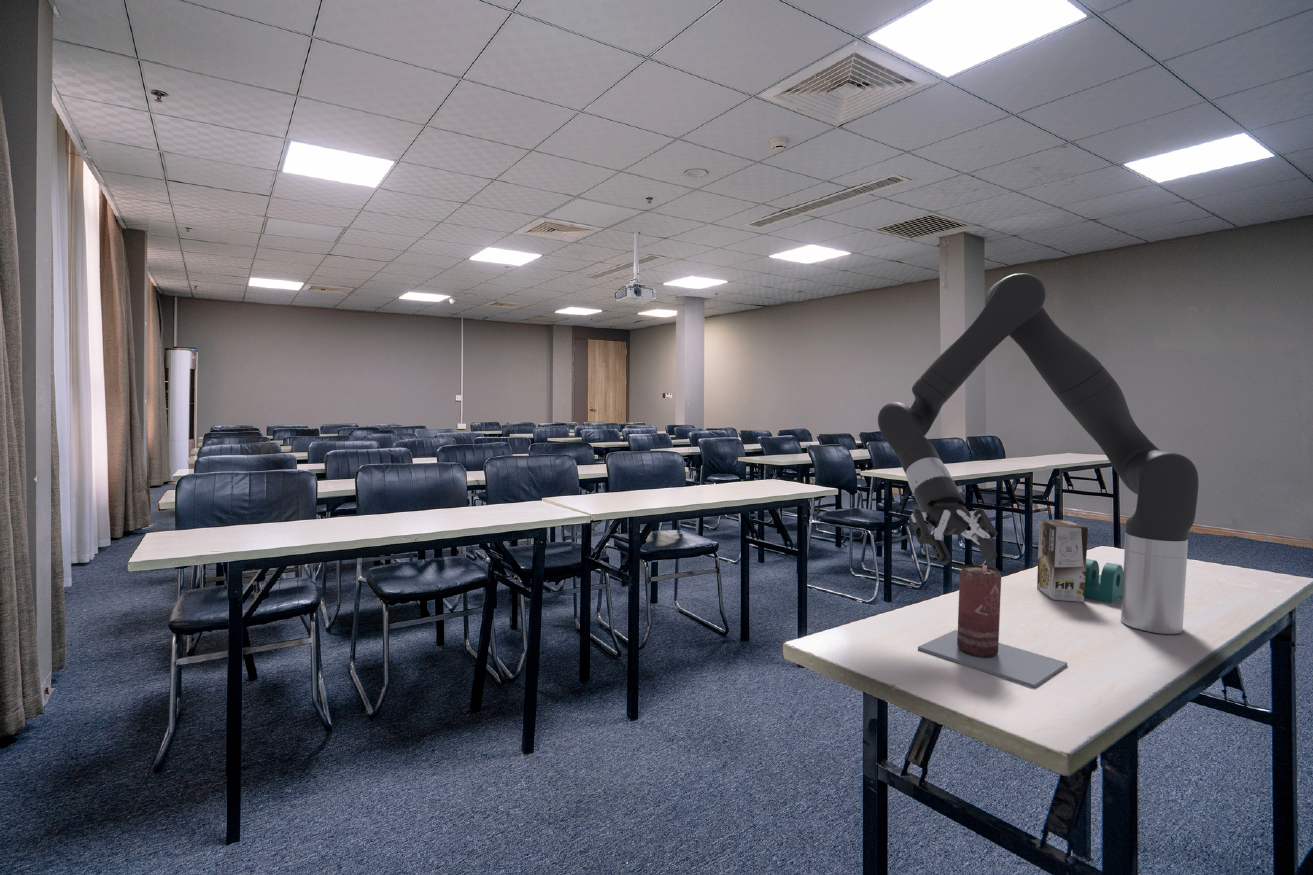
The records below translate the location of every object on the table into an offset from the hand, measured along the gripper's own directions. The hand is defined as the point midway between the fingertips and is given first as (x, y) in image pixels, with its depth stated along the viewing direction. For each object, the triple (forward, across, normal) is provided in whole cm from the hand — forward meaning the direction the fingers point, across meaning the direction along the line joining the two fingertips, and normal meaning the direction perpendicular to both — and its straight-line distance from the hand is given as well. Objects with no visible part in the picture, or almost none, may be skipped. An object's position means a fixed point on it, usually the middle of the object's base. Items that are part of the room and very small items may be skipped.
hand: (969, 561), depth 108 cm
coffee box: (-6, +39, +27) cm, 47 cm away
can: (+13, -1, +7) cm, 15 cm away
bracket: (-6, +52, +28) cm, 59 cm away
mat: (+14, 0, +6) cm, 16 cm away
